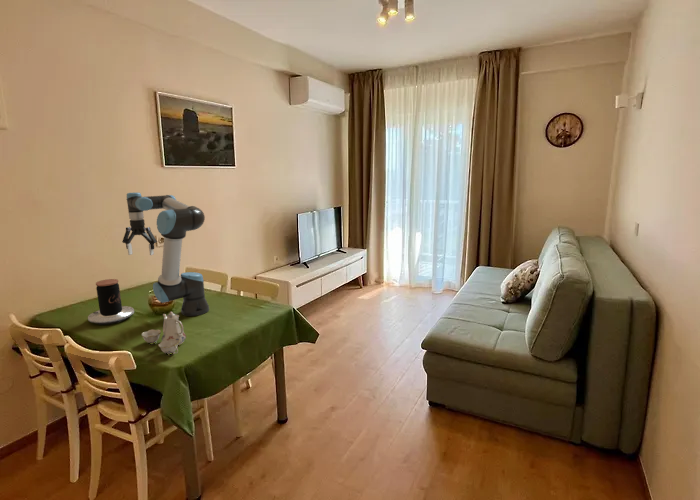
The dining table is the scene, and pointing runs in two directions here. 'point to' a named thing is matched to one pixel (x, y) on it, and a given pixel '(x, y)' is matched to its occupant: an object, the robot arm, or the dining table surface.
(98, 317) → the disc
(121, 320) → the turntable base
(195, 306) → the robot arm
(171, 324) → the chinaware
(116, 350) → the dining table surface
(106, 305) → the coffee jar
